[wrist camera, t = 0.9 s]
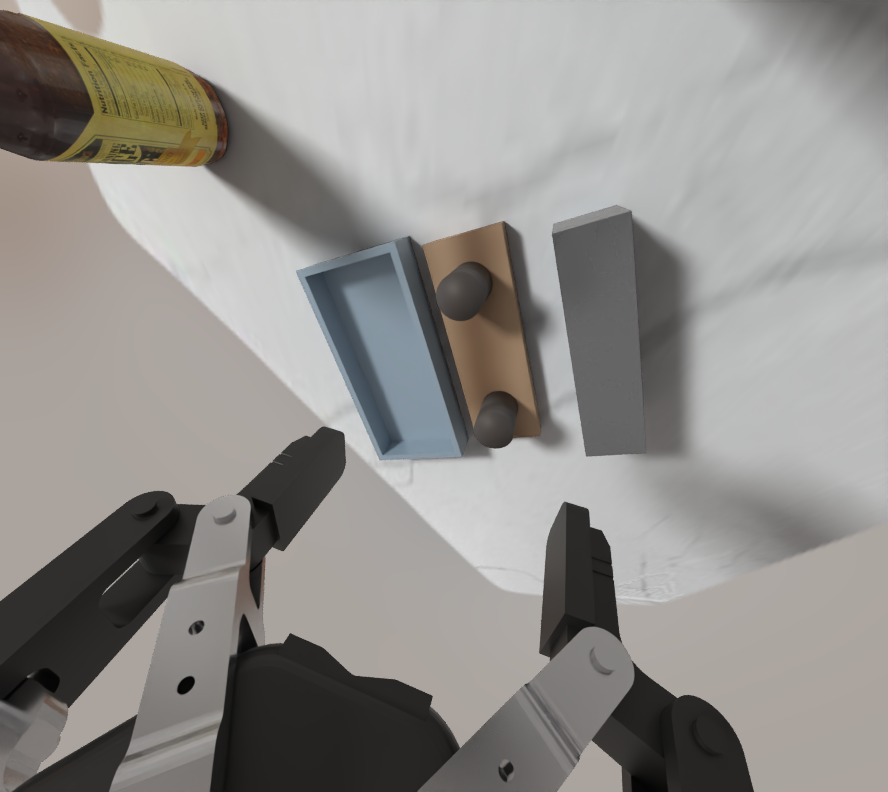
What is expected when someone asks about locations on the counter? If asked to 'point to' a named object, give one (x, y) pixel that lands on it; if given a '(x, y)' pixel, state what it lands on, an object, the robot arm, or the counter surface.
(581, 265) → the steel bar
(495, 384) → the peg rack
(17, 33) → the sauce bottle
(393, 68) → the counter surface
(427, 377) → the slot tray
